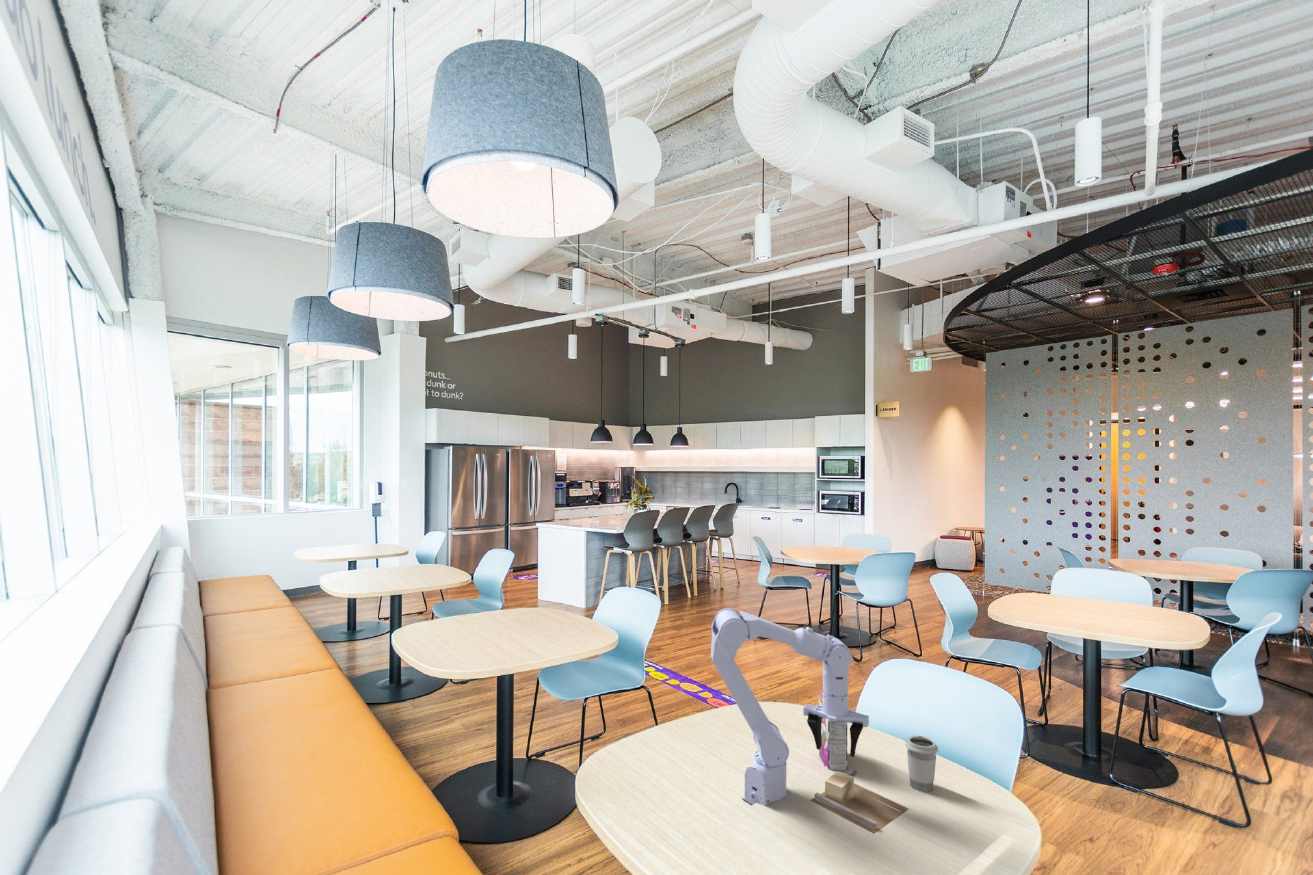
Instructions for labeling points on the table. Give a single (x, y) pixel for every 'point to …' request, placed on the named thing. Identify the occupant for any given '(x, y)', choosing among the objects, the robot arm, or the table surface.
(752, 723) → the robot arm
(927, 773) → the cup
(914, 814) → the table surface
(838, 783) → the block
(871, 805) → the walnut board
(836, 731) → the candy bar box
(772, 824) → the table surface
